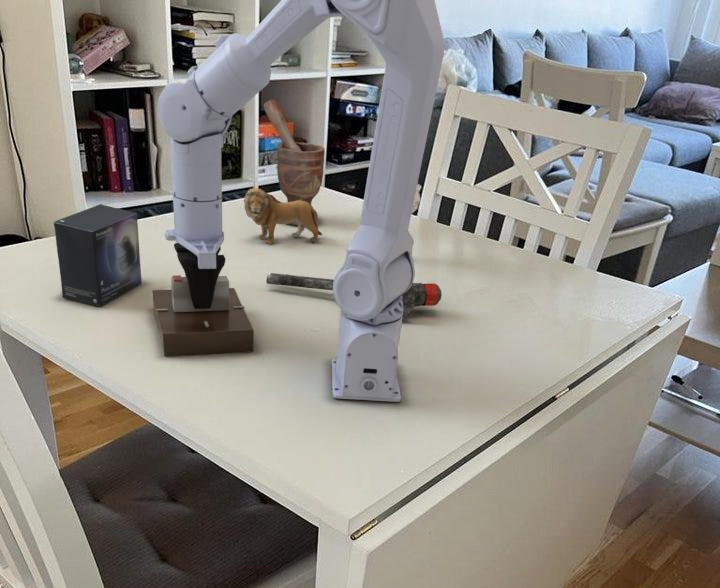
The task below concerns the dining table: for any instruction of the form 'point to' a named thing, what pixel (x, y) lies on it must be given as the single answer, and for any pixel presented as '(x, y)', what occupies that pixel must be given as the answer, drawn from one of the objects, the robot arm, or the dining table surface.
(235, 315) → the block
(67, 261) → the small box
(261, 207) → the lion figurine
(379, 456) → the dining table surface
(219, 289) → the tap handle
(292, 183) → the mortar and pestle
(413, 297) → the grey and red tool
